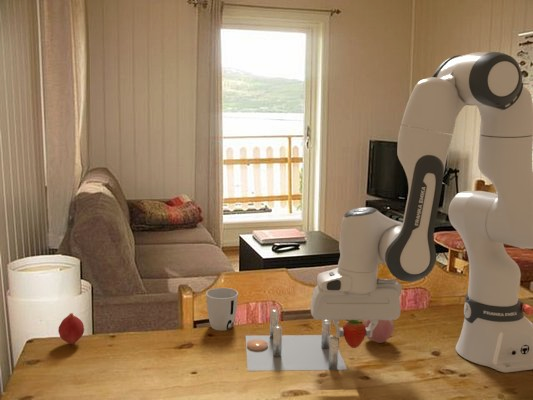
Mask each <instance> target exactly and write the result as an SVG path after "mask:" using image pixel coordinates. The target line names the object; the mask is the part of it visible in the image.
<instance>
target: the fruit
mask: <svg viewBox="0 0 533 400" xmlns="http://www.w3.org/2000/svg"><path fill="white" fill-rule="evenodd" d="M342 328H343V330H344V334H343V335H344V337H343V338H344V339H345V342H346V344H347V345H348V346H349V347H351V348H352V349H357V348H358V347H359V346H360V345H361V344H362V343H363V342H364V339H365V338H366V337H365V334H366V328H365V325H364V324H363V321H361V320H345V321H344V323H343V326H342Z"/></svg>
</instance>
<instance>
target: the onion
mask: <svg viewBox="0 0 533 400" xmlns="http://www.w3.org/2000/svg"><path fill="white" fill-rule="evenodd" d="M84 332H85V325H84V323H83V321H82V320H81V319H80V318H79V317H77V316H76V315H74V313H73V312H70V313H69V314H68V315H67V316H66V317H64V318H63V319H62V320H61V322H60V324H59V326H58V335H59V337H60V339H61V340H63V341H64V342H66V343H67V344H70V345H75V344H76V342H78V341H79V340H80V339H81V338H82V337H83V335H84Z"/></svg>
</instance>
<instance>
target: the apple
mask: <svg viewBox="0 0 533 400" xmlns="http://www.w3.org/2000/svg"><path fill="white" fill-rule="evenodd" d="M362 322H363V324H364V325H365V327H368V326H369V324H370V323H371V321H370V320H362ZM394 330H395V321H394V320H378V324H377V326H376V327H375V328H374V330H373V331H372V337H366V338H367V339H368V340H370V341H373V342H375V343H376V344H377V343H378V344H381V343H384V342H386V341H387V340H389V339H390V338H391V337H392V335H393V332H394Z"/></svg>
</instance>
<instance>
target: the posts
mask: <svg viewBox="0 0 533 400" xmlns="http://www.w3.org/2000/svg"><path fill="white" fill-rule="evenodd" d="M269 311H270V314H269V315H270V316H269V335H270V338H272V339H273V357H275V358H279V357H281V350H282V335H283V326H282V325H279V310H278V309H276V308H272V309H270V310H269ZM331 324H332V320H321V335H322V342H321V348H322V349H329V367H328V368H329V369H331V370H330V371H337V370H336V369H337V368H338V349H339V348H340V347H339V345H340V337H337V336H334V335H333V336H332V337H330V335H331V328H332V327H331Z"/></svg>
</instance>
